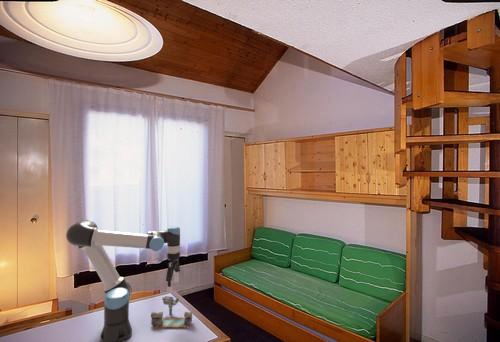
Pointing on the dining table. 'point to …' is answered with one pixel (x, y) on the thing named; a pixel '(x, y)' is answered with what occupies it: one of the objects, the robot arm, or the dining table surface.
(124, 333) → the robot arm
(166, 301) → the mechanical component
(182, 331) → the dining table surface
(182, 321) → the mint panel frame
